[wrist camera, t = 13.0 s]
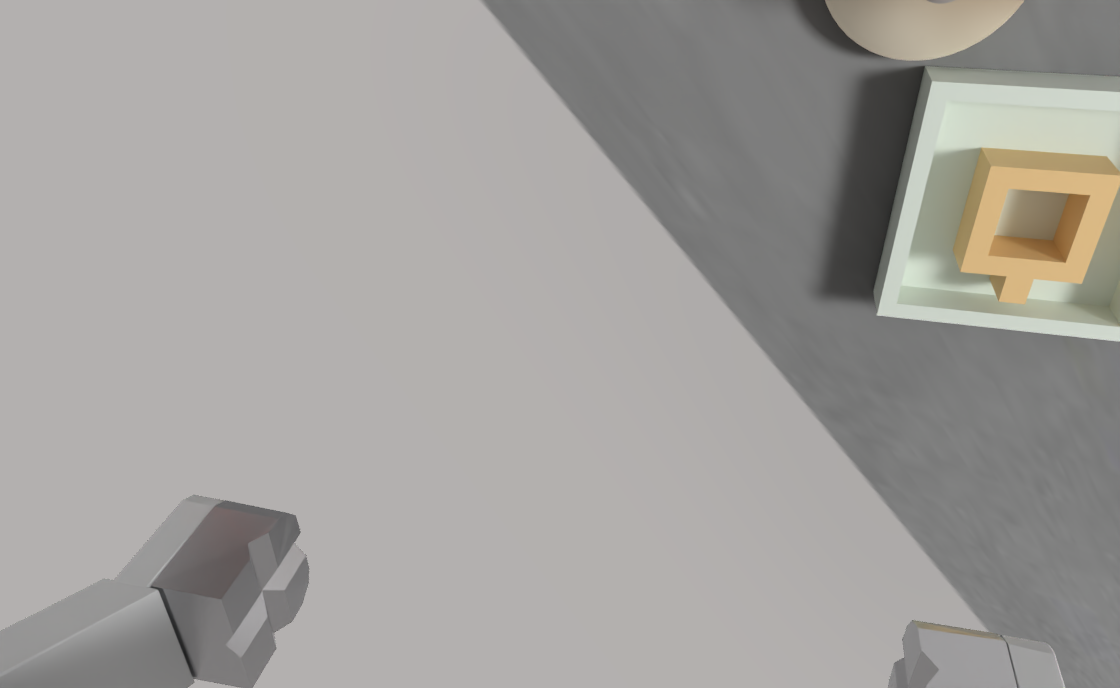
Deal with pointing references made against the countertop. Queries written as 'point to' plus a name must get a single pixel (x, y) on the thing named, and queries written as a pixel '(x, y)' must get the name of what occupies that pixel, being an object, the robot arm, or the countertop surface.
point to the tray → (944, 182)
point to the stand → (920, 24)
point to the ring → (1026, 257)
